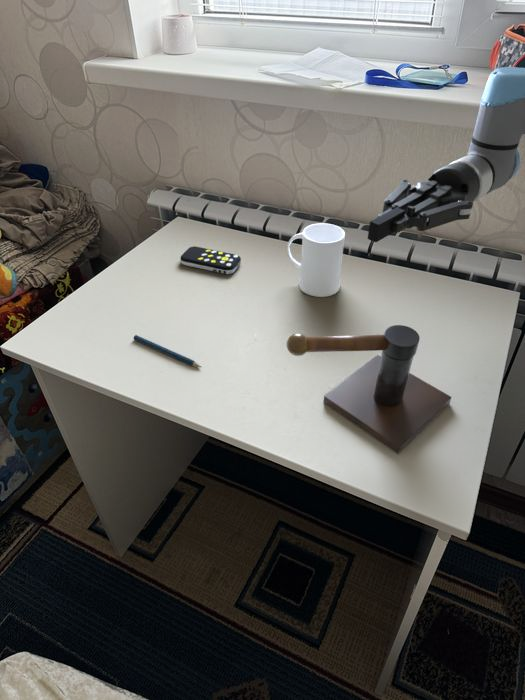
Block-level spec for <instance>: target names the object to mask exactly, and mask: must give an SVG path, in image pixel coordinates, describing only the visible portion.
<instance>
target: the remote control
mask: <svg viewBox="0 0 525 700" xmlns="http://www.w3.org/2000/svg"><path fill="white" fill-rule="evenodd" d="M179 258H180V263H181V265H184V266H187V267H192V268H195V269H196V268H197V269H201V270H205V271H210V272H215V273H219V274H224V275H231V274H234V272H236V270H237V269H238V268H239V266H241V264H242V258H241V256H240V255H238V254H235V253H231V252H225V251H222V250H221V251H220V250H216V249H210V248H205V247H201V246H195V245H193V246H190V247H188V248H187V249H186V250H185V251H184V252H183V253H182V254H181V256H180V257H179Z"/></svg>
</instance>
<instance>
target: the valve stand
mask: <svg viewBox="0 0 525 700" xmlns="http://www.w3.org/2000/svg"><path fill="white" fill-rule="evenodd" d="M414 356H415V355H414ZM414 356H413V357H412V358H410V359H405V360H400V359H395V358H392V357H390V356H388V355H387V354H386V353H385V352H384V351H383V350H381V355H379V354H376V355H375V356H374V357H372V358H371V359H369V361H367V362H366V363H364V365H362V366H361V367H359V368H358V369H357V370H356V371H354V372H353V373H352V374H351V375H349V376H348V377H346V378H345V379H344V380H343V381H341V382H340V383H339V384H338V385H336V386H335V387H333V388H332V389H331V390H330V391H328V392H327V393H326V394H325V395H323V403H324V404H325V405H326V406H328V407H329V408H331V409H332V410H333V411H335V412H336V413H338V414H339V415H341V416H342V417H344V418H345V419H347V420H348V421H349V422H351V423H352V424H354V425H356V426H357V427H358V428H359V429H361V430H363V431H364V432H366V433H367V434H368V435H370V436H371V437H372V438H374V439H376V440H377V441H379V443H381V444H383V445H385V446H386V447H387V448H388V449H390V450H391V451H393V452H395V453H396V454H397V455H398V454H400V453H401V452H402V451H403V450H404V449H405V448H406V447H407V446H408V445H409V444H411V442H412V441H413V440H414V439H415V438H416V437H417V436H418V435H419V434H420V433H421V432H422V431H423V430H424V429H425V428H426V427H428V425H429V424H430V423H431V422H432V421H433V420H435V419H436V418H437V416H439V414H440V413H442V412H443V411H444V410H445V409H446V408H447V407H448V406H449V405H450V403H451V400H452V396H450V395H449V394H447V393H446V392H444V391H442V390H440V389H438V388H436V387H435V386H433V385H431V384H430V383H428V382H426V381H424V380H423V379H421V378H419V377H418V376H416V375H414V374H412V373H411V372H410V371H411V368H412V365H413V361H414V360H413V359H414Z"/></svg>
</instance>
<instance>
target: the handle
mask: <svg viewBox="0 0 525 700" xmlns="http://www.w3.org/2000/svg"><path fill="white" fill-rule="evenodd" d="M420 338H421V337H420V334H419V333H418V332H417V330H415V329H414V328H412V327H410V326H406V325H403V324H395V325H391V326H389V327H387V328H386V329H385V330H384V333H383V334H355V335H354V334H353V335H352V334H351V335H316V336H315V335H314V336H313V335H312V336H311V335H310V336H309V335H308V336H306V334H303V333H300V332H296V333H292V334H291V335H290V336H288V338H287V339H286V349H287V351H288V353H290V355H292V356H295V357H301V356H304V355H305V354H306V353H328V352H330V353H331V352H334V353H335V352H373V351H382V350H383V351H384V352H385V353H386V354H387V355H388V356H390V357H392V358H395V359H400V360H405V359H410V358H412V357H413V356H415V355H416V354H417V350H418V347H419V343H420ZM413 358H414V357H413Z"/></svg>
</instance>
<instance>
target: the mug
mask: <svg viewBox="0 0 525 700" xmlns="http://www.w3.org/2000/svg"><path fill="white" fill-rule="evenodd" d="M345 237H346V232H345V230H344V229H342V227H340V226H338V225H335V224H331V223H326V222H325V223H312V224H310V225H307V226H306V227H305V228H304V229H303V230H302V232H300V233H296V234H294V235H293V236H291V238H290V239H289V240H288V242H287V245H286V253H287V257H288V259H289V260H290V262H291V264H292V265H293V266H295V267H296V268H298V270H300V273H299V280H298V288H299V289H300V291H302V292H303V293H304V294H306V295H309V296H312V297H318V298H326V297H330V296H333V295H336V293H338V292H339V291H340V289H341V272H342V263H343V256H344V255H343V254H344V248H345V247H344V245H345ZM297 239H302V240H301V256H300V257H301V258H300V262H298V261H297V260H296V259H295V258H294V257H293V255H292V253H291V245H292V243H293V241H295V240H297Z"/></svg>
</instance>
